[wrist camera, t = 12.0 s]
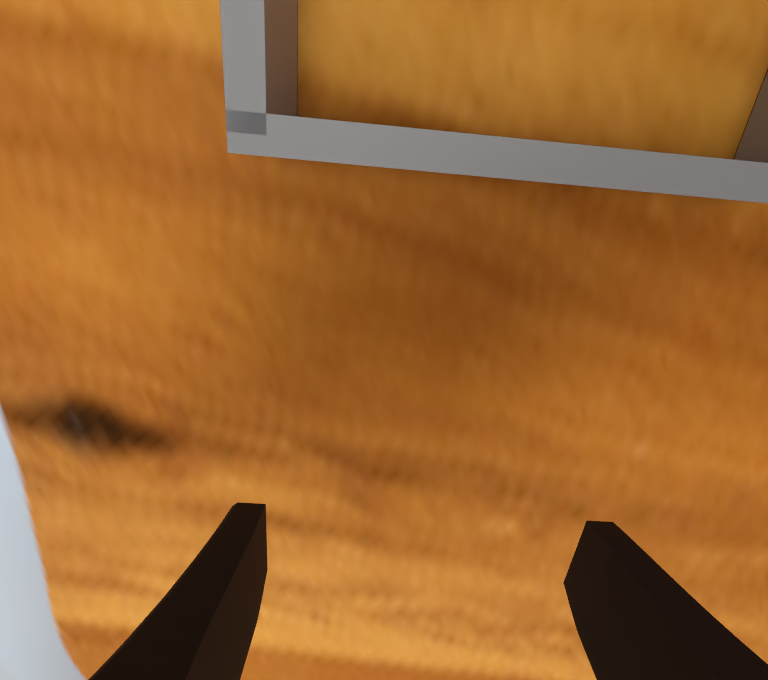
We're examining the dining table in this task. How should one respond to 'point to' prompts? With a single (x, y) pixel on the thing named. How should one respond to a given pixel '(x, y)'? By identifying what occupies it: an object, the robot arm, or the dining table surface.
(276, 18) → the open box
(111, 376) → the dining table surface
